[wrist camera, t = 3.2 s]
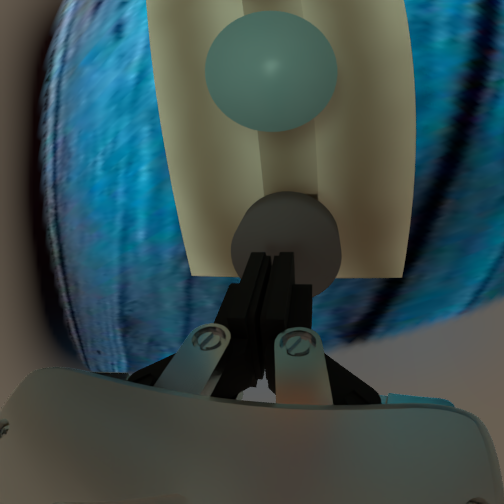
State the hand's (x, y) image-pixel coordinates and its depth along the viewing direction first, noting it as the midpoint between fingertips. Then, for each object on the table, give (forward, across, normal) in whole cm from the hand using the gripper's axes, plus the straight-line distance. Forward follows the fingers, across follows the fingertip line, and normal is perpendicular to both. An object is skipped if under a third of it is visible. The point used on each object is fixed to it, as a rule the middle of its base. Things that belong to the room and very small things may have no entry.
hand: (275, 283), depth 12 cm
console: (+10, 0, -8) cm, 13 cm away
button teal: (+7, 0, -8) cm, 11 cm away
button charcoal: (+7, 0, 0) cm, 7 cm away
